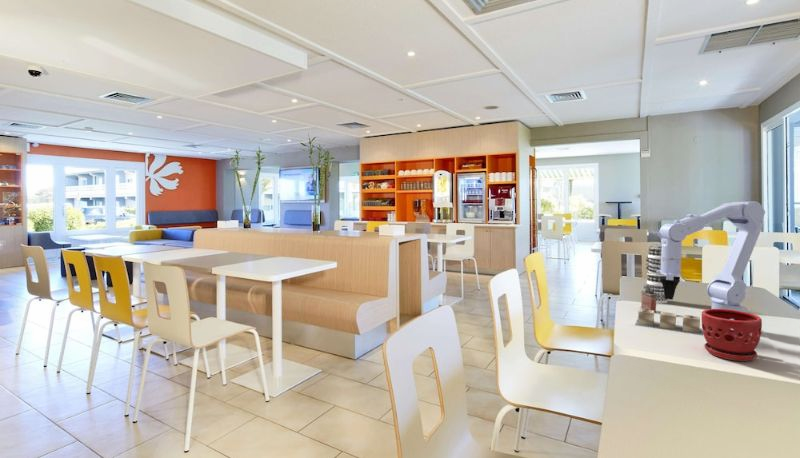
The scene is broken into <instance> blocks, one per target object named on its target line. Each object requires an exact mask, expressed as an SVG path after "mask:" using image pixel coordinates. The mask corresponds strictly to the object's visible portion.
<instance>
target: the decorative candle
mask: <svg viewBox="0 0 800 458" xmlns="http://www.w3.org/2000/svg"><path fill="white" fill-rule="evenodd" d="M661 249H662V244H656V243H655V244H651V245H650V246H649V247H648V254H647V256H646V259H645V261H646V262H647V263H645V264H646V267H645V269H646V270H647V271H646V274H647V280H646V284H645V285H646V286H649V287H653V288H654V293H655V294H657V297H656V304H657V303H660V304H665V303H666V304H667V303H668V299H665V295H664V288H663V285H662V282H661V280H660V277H661V276H665V275H663V274H661V273H657V272H656V271H657V270H661Z"/></svg>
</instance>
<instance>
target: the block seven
mask: <svg viewBox="0 0 800 458" xmlns="http://www.w3.org/2000/svg"><path fill="white" fill-rule="evenodd" d="M637 314H638V317H637V319H638V324H641V325H648V326H653V324H654V322H655V313H654V311H652V310H645V309H641V308H639V309H638V313H637Z"/></svg>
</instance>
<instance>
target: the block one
mask: <svg viewBox="0 0 800 458" xmlns="http://www.w3.org/2000/svg"><path fill="white" fill-rule="evenodd" d="M700 325H701V318H700V316H697V315H691V314H683V315H682V326H683V331H689V332H695V333H699V330H700V328H701V326H700Z"/></svg>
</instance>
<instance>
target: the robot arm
mask: <svg viewBox="0 0 800 458" xmlns="http://www.w3.org/2000/svg"><path fill="white" fill-rule="evenodd" d="M765 214H766V211H765V209H764V208H763V206H762V204H761V203H760V202H758V201H754V200H752V201H728V202H727V203H722V204H721V205H719V206H717V207H715V208H713V209H711V210H709V211H706V212H704V213H702V214H700V215H699V214H692V213H689V214H686V216H685V217H684V218H682V219H675V220H673V222H672V223H665V224H662V225H661V227H660V229H659V231H657V235H658V237H659V239H660V244H661V245H662V249H661V270H657V271H656V272H657V273H661V274H663V275H665V276H661V277H660V280H661V282H662V285H663V288H664V295H665V299H667V300H673V299H674V298H675V297H674V296H675V293H676V289H677V287H678V285H679V284H680V281H681V277H680V276H681V275H682V272H681V269H682V266H681V265H682V246H683V244H682V243H683V241H684V240H685V239H686V238H687V236H690V235H692V234H694V233H697V232H699V231H702V230H703V229H704V228H705V226H706V225H707V224H711V223H713V222H716V221H719V220H721V219H724V218H726V219H727V220H728V221H729V222H730V223H732V225H733V226H735V227H736V228H737V230H738V231H737V235H736V237H735V239H734V242H733V245H732V247H731V249H730V252H729V255H728V256H727V259H726V261H725V263H724V266H723V269H722V271H721V272H720V273H719V274H716V275H715V276H714V277H713V279H712V281H711V282H710V283H709V284H708V285H707V287H706V293H707V295H708V297H709V298H710V301H711V308H710V309H728V310H736V311H742V312H747V313H749V311H748V308H747V307H746V306H744V305H741V303H743V302H744V300H745V298H746V288H747V284H746V283H745V281H744V280H743V279H742V277H743V275H744V273H745V271H746V268H747V266H748V263H749V261H750V259H751V256H752V254H753V252H754V248H755V246H756V243H757V241H758V239H759V236H760V233H761V231H762V221H763V220H764V219H763V218H764V217H765ZM729 320H734V319H729ZM731 330H733V329H731Z"/></svg>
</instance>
